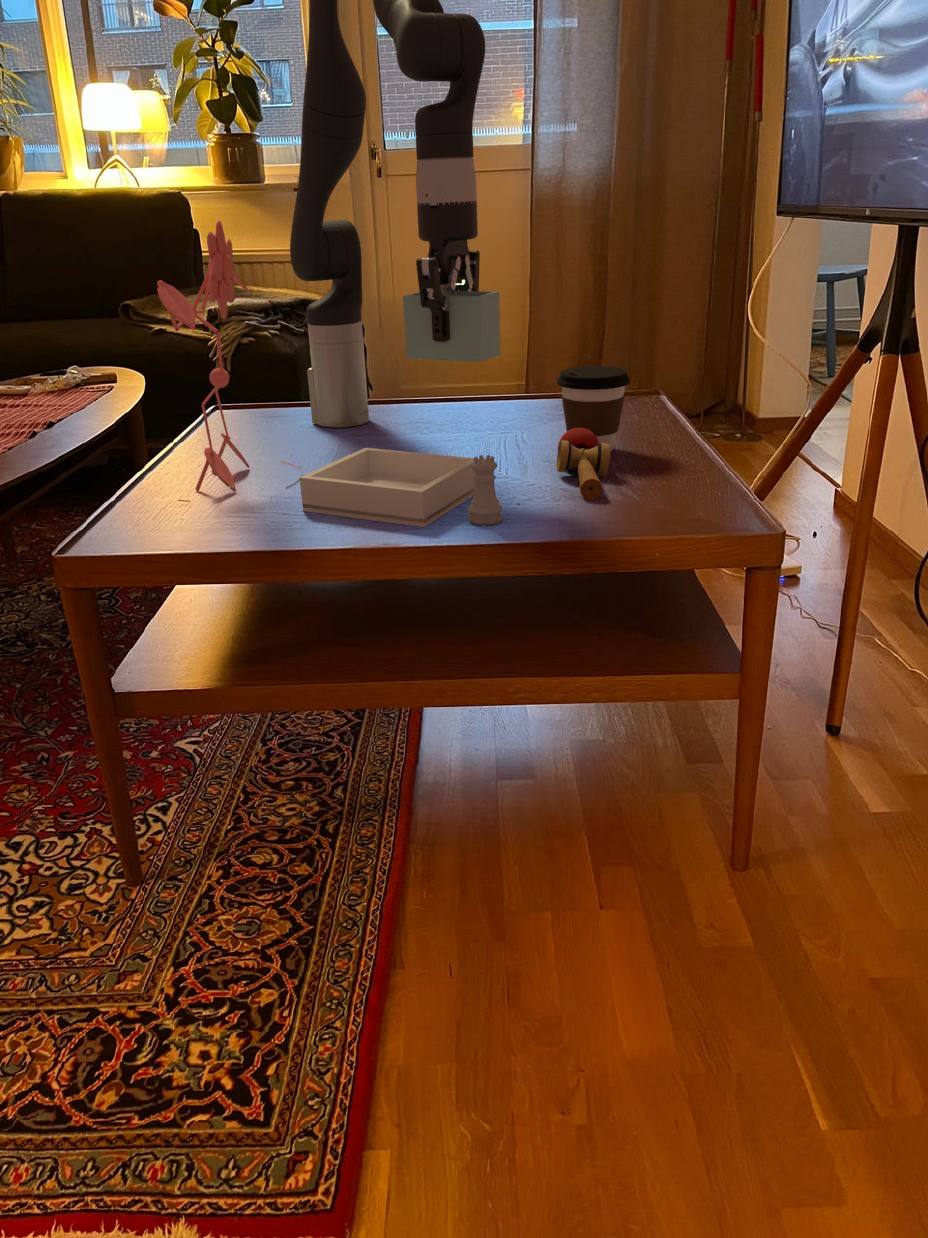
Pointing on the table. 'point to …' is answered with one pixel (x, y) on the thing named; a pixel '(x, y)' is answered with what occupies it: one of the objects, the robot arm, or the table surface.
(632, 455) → the table surface
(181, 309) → the pink thin branched figure
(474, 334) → the teal tote
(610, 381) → the coffee cup
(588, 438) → the kendama
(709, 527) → the table surface
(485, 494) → the rook chess piece
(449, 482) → the beige tray
